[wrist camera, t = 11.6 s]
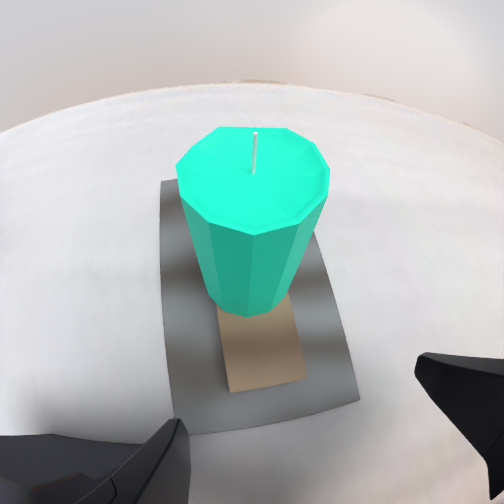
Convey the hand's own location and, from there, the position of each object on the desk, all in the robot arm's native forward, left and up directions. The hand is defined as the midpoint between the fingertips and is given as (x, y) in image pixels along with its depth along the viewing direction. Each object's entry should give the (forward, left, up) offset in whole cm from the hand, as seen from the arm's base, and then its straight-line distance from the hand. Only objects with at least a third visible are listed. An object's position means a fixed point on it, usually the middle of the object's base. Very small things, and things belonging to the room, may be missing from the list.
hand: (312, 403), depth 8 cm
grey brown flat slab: (+4, +9, -12) cm, 15 cm away
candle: (+4, +8, -8) cm, 12 cm away
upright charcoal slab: (-15, +3, -12) cm, 19 cm away
